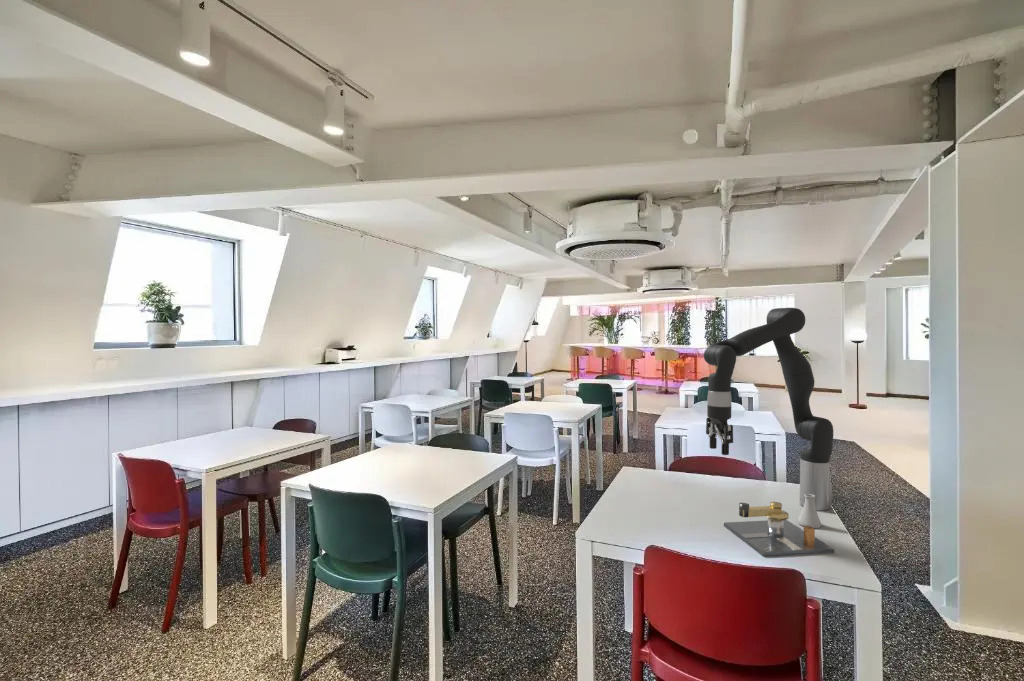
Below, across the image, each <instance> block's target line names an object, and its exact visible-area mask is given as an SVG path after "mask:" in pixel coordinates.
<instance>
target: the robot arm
mask: <svg viewBox="0 0 1024 681" xmlns="http://www.w3.org/2000/svg"><path fill="white" fill-rule="evenodd" d="M805 325H806V315H805V313H804V312H803V310H801V309H800V308H797V307H778V308H777V307H776V308H772V309H770V310H769V311H768V312H767V315H766V324H763V325H759V326H756V327H753V328H750V329H747V330H744V331H742V332H740V333H738V334H736V335H734V336H731V338H727V339H724V340H721V341H717V342H715V343H712V344H710V345H709V346H707V347H706V348H705V350H704V353H703V359H704V361H705V362H706V363H707V364H708V365H711V366H714V367H716V366H717V368H716V371H715V372H713V373H710V374H709V375H708V381H707V382H708V383H707V384H708V391H707V397H706V399H707V405H706V406H707V407H706V408H707V412H706V413H707V417H706V425H705V426H706V427H705V434H706V435H707V436H708V438H709V449H712V450H715V449H717V442H718V441H717V436H718V438H719V439H720V441H721V452H720V453H721V455H722V456H729V455H730V444H733V443H734V425H733V424H729V423H728V420H731V418H732V391H731V390H732V389H731V388H732V383H731V382H732V381H731V380H732V377H733V374H734V369H735V366H736V362H737V357H741V356H744V355H746V354H748V353H750V352H753V351H754V350H756V349H757V348H759V347H760V348H761V347H762V346H763V345H766V344H768V343H770V342H773V344H774V347H775V349H776V353H777V356H778V360H779V362H780V367H781V371H782V375H783V379H784V381H785V385H786V388H787V392H788V396H789V400H790V405H791V410H792V416H793V422H794V429H795V432H796V434H797V435H798V436H799V438H801V439H803V440H806V441H810V442H811V446H810V448H808V449H807V448H806V449H803V450H801V451H800V453H799V454H800V455H799V457H800V459H799V460H800V461H799V466H800V467H799V468H800V470H799V505H800V506H801V507H802V508H803V507H804V503H805V496H804V494H812V495H815V498H814V504H815V508H816V511H820V512H823V511H828V510H829V509H832V500H833V483H832V482H831V481H830V462H831V460H830V459H831V456H832V453H833V443H834V426H833V423H832V422H831V420H829V419H827V418H826V417H820V416H816V415H814V414H812V410H811V406H810V398H811V395H812V393H813V391H814V388H815V377H814V373H813V370H812V366H811V364H810V362H809V360H808V359H807V358H806V357H805V356H804V354H803V353H802V352H801V351H800V350H799V349H798V347H796V345H795V343H794V342H793V339H792V337H791V335H794V334H795V333H799V332H800V331H801V330H803V329H804V326H805Z"/></svg>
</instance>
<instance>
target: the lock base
mask: <svg viewBox="0 0 1024 681" xmlns="http://www.w3.org/2000/svg"><path fill="white" fill-rule="evenodd" d="M723 527H724V528H726V529H727V530H728V531H729V532H731V533H732V534H733V535H735V536H736V537H737V538H739V539H740V540H741V541H742V542H744V543H745V544H747V546H749V547H750V548H752V549H753V551H755V552H757V553H758V554H759V555H760V556H762V557H763V558H765V557H781V556H782V557H787V556H801V555H817V554H820V555H821V554H835V548H833V547H832V546H830V545H829V544H827V543H825V542H824V541H822V540H820V539H819V538H818V537H815V533H816V532H815V529H816V528H812V527H811V526H803V528H801V527H799V526H797V525H796V524H794V523H792V522H790V521H789V520H788V519H787V520H775V519H771V518H768V517H767V520H766V519H765V520H750V521H749V520H748V521H747V520H746V521H730V522H724V523H723Z"/></svg>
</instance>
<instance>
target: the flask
mask: <svg viewBox="0 0 1024 681" xmlns="http://www.w3.org/2000/svg"><path fill="white" fill-rule="evenodd" d="M804 496H805V503H804V507H803V506H802V509H801V512H800V514H799V516H798V518H797V520H796V522H797V523H798V525H799V526H802V527H804V526H811V527H812V528H814V529H820V528H821V527H822V526H823V525H822V523H821V519H820V518H819V515H818V512H817V511H818V510H816V508H815V504H814V498H815V495H812V494H804Z"/></svg>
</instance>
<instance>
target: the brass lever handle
mask: <svg viewBox="0 0 1024 681" xmlns="http://www.w3.org/2000/svg"><path fill="white" fill-rule="evenodd" d="M738 506H739V507H738V516H740V517H741V518H754V517H755V518H757V517H758V518H759V517H766V518H767V519H768V518H771V519H775V520H787V521H788V520H789V518H790V516H789V513H788V512H787V511H786V510H783V509H782V508H783V507H782V506H783V505H782V503H781V502H779V501H770V502H769V505H763V506H761V505H760V506H759V505H758V506H750V504H749V503H747V502H739V504H738Z"/></svg>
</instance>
